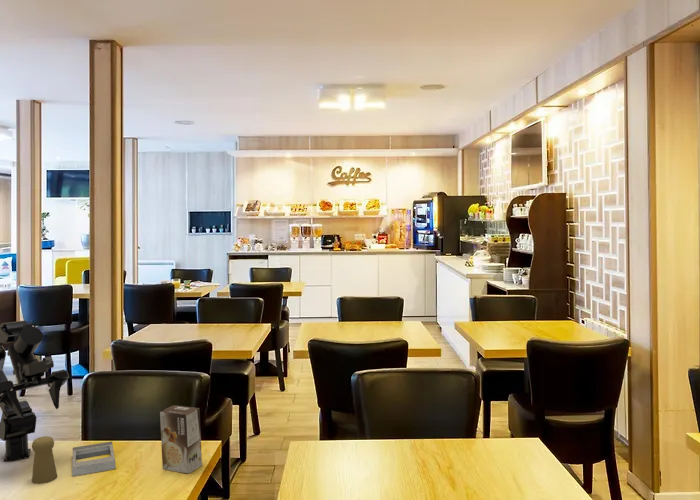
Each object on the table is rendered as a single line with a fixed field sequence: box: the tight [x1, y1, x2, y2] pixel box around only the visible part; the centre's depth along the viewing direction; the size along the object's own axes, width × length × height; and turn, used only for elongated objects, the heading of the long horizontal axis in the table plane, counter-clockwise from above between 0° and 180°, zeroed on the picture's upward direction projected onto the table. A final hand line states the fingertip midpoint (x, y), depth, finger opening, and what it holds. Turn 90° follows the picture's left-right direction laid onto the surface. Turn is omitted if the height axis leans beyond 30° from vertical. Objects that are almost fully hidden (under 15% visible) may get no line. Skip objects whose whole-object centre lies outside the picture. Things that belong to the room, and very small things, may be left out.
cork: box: [31, 435, 58, 485], centre depth 158 cm, size 6×6×11 cm
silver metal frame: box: [71, 441, 116, 477], centre depth 169 cm, size 16×11×2 cm
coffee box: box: [159, 404, 203, 474], centre depth 164 cm, size 9×6×16 cm
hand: (40, 412), depth 162 cm, fingers open, 9 cm apart
